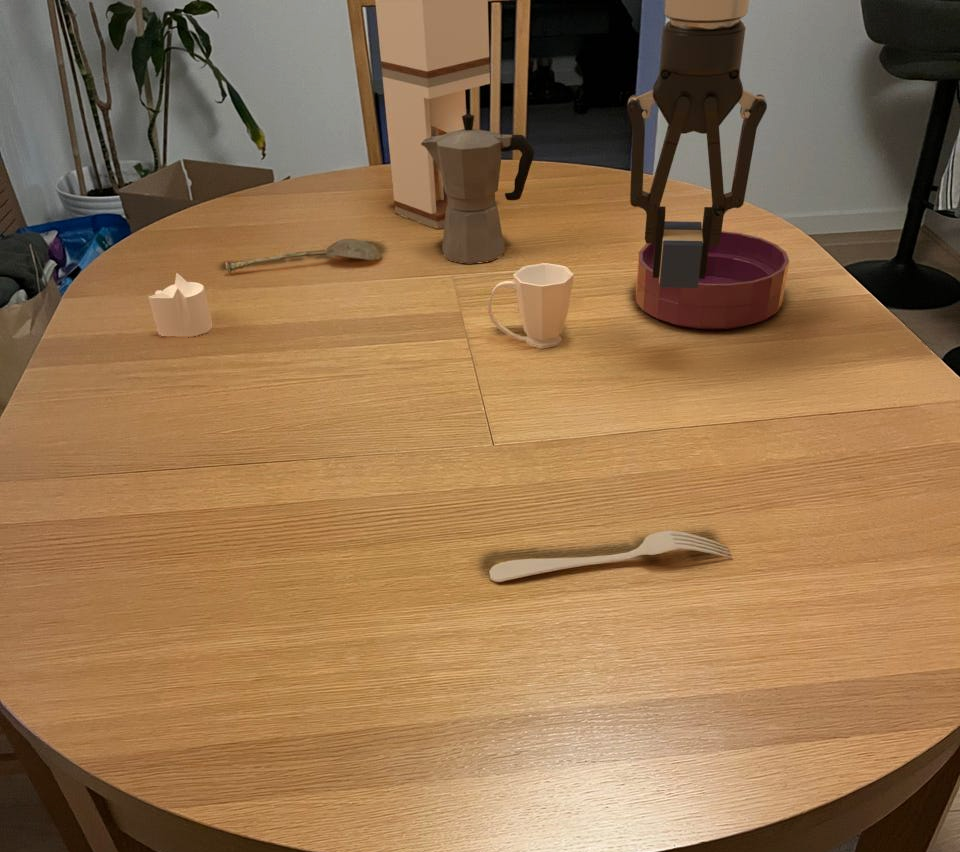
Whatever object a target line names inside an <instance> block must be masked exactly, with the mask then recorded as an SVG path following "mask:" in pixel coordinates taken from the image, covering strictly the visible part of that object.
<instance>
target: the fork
mask: <svg viewBox="0 0 960 852" xmlns="http://www.w3.org/2000/svg"><path fill="white" fill-rule="evenodd" d="M674 550H685V551H695V552H701V553H705V554H711V555H715V556H719V557H724V558H727V559H731V560H733V559H734V557H733V556H731V555H732V554H731V552H730V550H729V549H728V545H726V544H723V543H720V542H719V541H715V540H712V539H710V538H708V537H703V536H701V535H700V536H699V535H696V534H692V533H689V532H686V531H685V532H684V531H677V530H670V529H669V530H661V531H658V532H653V533H651V534H649V535H647V536H646V537H645V538H644V539H643V542H642V543H641V544H640V545H639V546H638V547H636V548H635V549H632V550H630V551H626V552H621V553H615V554H605V555H595V556H581V557H578V556H577V557H554V558H553V557H551V558H550V557H549V558H547V557H546V558H525V559H523V558H522V559H511V560H507V561H503V562H499V563H495V564H494V565H493V566H491V568H490V570H489V571H488V573H489V574H488V575H489V579H490V581H493V582H495V583H502V582H506V581H511V580H515V579H519V578H520V579H521V578H524V577H531V576H535V575H539V574H545V573H550V572H555V571H560V570H567V569H572V568H579V567H584V566H592V565H601V564H607V563H608V564H609V563H614V562H620V561H626V560H629V559H633V558H636V557H639V556H644V555H649V556H655V555H659V554H662V553H666V552H670V551H674Z"/></svg>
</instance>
